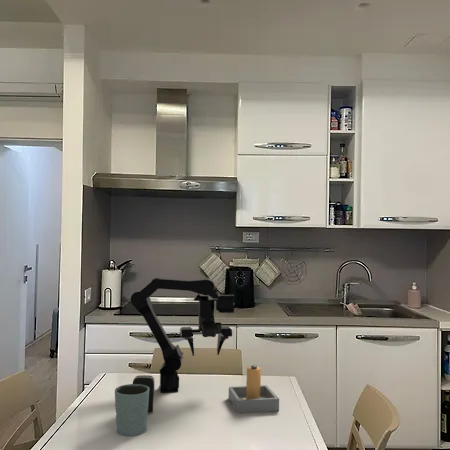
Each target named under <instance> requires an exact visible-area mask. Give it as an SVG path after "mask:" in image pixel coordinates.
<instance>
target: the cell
mask: <svg viewBox="0 0 450 450" xmlns="http://www.w3.org/2000/svg"><path fill="white" fill-rule="evenodd" d="M261 382H262V367H260V366H258V365H255V364H253V365H250V366H248V367H246V385H245V386H246V399H260V385H261Z"/></svg>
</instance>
